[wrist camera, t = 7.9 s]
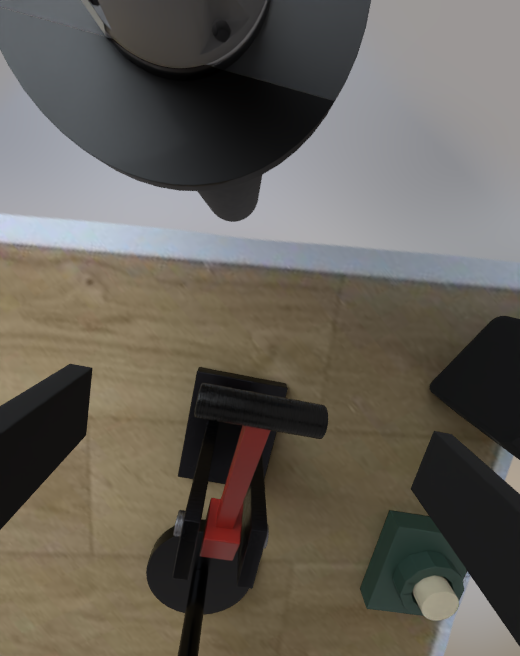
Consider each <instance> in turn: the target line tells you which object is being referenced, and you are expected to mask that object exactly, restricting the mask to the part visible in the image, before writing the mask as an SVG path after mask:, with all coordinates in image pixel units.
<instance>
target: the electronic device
mask: <svg viewBox="0 0 520 656" xmlns="http://www.w3.org/2000/svg"><path fill="white" fill-rule="evenodd" d="M430 391H431V392H432V393H433V394H434V395H436V396H437V397H438V398H439V399H440V400H442V401H443V402H444V403H445V404H446V405H448V406H449V407H450V408H451V409H452V410H454V411H455V412H456V413H457V414H459V415H460V416H461V417H463V418H464V419H465V420H467V421H468V422H469V423H471V424H472V425H473V426H475V427H476V428H477V429H479V430H480V431H481V432H483V433H484V434H485V435H487V436H488V437H490V438H491V439H492V440H494V441H495V442H496V443H498V444H499V445H500V446H502V447H503V448H504V449H506V450H507V451H508V452H510V453H511V454H512V455H514V456H515V457H516V458H518V459H519V460H520V319H516V318H512V317H508V316H500V317H497V318H495V319H494V320H492V321H491V322H490V323H489V324H488V325H487V326H486V327H485V328H484V329H483V330H482V331H481V332H480V333H479V334H478V335H477V336H476V337H475V338H474V339H473V340H472V341H471V342H470V343H469V344H468V345H467V346H466V347H465V348H464V349H463V351H462V352H461V353H460V354H459V355H458V356H457V357H456V358H455V359H454V360H453V361H452V362H451V363H450V364H449V365H448V366H447V367H446V368H445V369H444V370H443V371H442V372H441V373H440V374H439V375H438V376H437V377H436V378H435V379H434V380H433V381H432V383H431V384H430Z"/></svg>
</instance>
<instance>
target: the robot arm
mask: <svg viewBox="0 0 520 656" xmlns="http://www.w3.org/2000/svg"><path fill="white" fill-rule="evenodd" d="M81 1H82V2H83V4H84V5H85V7H86V8H87V10H88V11H89V13H90V14H91V15H92V17H93V18H94V20H95V21H96V23H97V24H98V26H99V27H100V28H101V30H102V31H103V33H104V34H105V36H106V37H107V38H108V39H109V40H110V42H111V43H112V44H113V45H114V46H115V47H116V48H117V49H118V51H119V52H120V53H121V54H123V55H124V56H125V57H126V58H127V59H128V60H130V61H131V62H132V63H134V64H135V65H137V66H138V67H140V68H142V69H143V70H145V71H147V72H149V73H152V74H154V75H157V76H160V77H163V78H167V79H172V80H181V81H186V80H198V79H202V78H206V77H209V76H212V75H215V74H217V73H219V72H221V71H223V70H224V69H226V68H227V67H229V66H231V65H232V64H233V63H234V62H235V61H237V60H238V59H239V58H240V57H241V56H242V55H243V54H244V53H245V52H246V50H247V49H248V48H249V47H250V45H251V44H252V42H253V41H254V39H255V38H256V36H257V34H258V32H259V30H260V29H261V26H262V24H263V22H264V19H265V16H266V13H267V10H268V7H269V2H270V0H81ZM91 377H92V368H90V367H85V366H79V365H74V364H69V365H67V366H66V367H64V368H62V369H61V370H59V371H58V372H56V373H54V374H53V375H51V376H49V377H48V378H46V379H44V380H43V381H41V382H39V383H38V384H36V385H34V386H33V387H31V388H29V389H28V390H26V391H25V392H23V393H21V394H20V395H18V396H16V397H15V398H13V399H11V400H10V401H8V402H6V403H5V404H3V405H1V406H0V530H1V528H2V527H3V526H4V525H5V524H6V523H7V522H8V521H9V520H10V519H11V517H12V516H13V515H14V514H15V513H16V512H17V511H18V510H19V509H20V507H21V506H22V505H23V504H24V503H25V502H26V501H27V500H28V499H29V498H30V496H31V495H32V494H33V493H34V492H35V491H36V490H37V489H38V488H39V487H40V485H41V484H42V483H43V482H44V481H45V480H46V479H47V478H48V477H49V475H50V474H51V473H52V472H53V471H54V470H55V469H56V468H57V467H58V466H59V464H60V463H61V462H62V461H63V460H64V459H65V458H66V457H67V456H68V455H69V453H70V452H71V451H72V450H73V449H74V448H75V447H76V446H77V445H78V444H79V442H80V441H81V440H82V439H83V438H84V437H85V436H86V430H87V420H88V409H89V398H90V388H91ZM411 490H412V492H413V493H414V494H415V496H416V497H417V499H418V500H419V502H420V503H421V505H422V506H423V507H424V509H425V510H426V512H427V513H428V515H429V516H430V518H431V519H432V520H433V522H434V523H435V525H436V526H437V528H438V529H439V531H440V532H441V533H442V535H443V536H444V538H445V539H446V541H447V542H448V544H449V545H450V546H451V548H452V549H453V551H454V552H455V554H456V555H457V557H458V558H459V559H460V561H461V562H462V564H463V565H464V567H465V568H466V570H467V571H468V572H469V574H470V575H471V577H472V578H473V580H474V581H475V582H476V584H477V585H478V587H479V588H480V590H481V591H482V593H483V594H484V595H485V597H486V598H487V600H488V601H489V603H490V604H491V606H492V607H493V608H494V610H495V611H496V613H497V614H498V616H499V617H500V619H501V620H502V622H503V623H504V624H505V626H506V627H507V629H508V630H509V631H510V633H511V635H512V636H513V637H514V639H515V640H516V642H517V643H518V645H519V646H520V494H519V493H518V492H516V491H515V490H514V489H513V488H512V487H511V486H510V485H509V484H507V483H506V482H505V481H504V480H503V479H502V478H501V477H500V476H498V475H497V474H496V473H495V472H494V471H493V470H492V469H490V468H489V467H488V466H487V465H486V464H485V463H484V462H483V461H481V460H480V459H479V458H478V457H477V456H476V455H475V454H473V453H472V452H471V451H470V450H469V449H468V448H467V447H466V446H464V445H463V444H462V443H461V442H460V441H459V440H458V439H456V438H455V437H454V436H453V435H452V434H447V433H442V432H436V431H434V432H433V435H432V437H431V440H430V442H429V445H428V447H427V449H426V452H425V454H424V457H423V459H422V462H421V464H420V467H419V469H418V472H417V474H416V477H415V479H414V482H413V484H412V487H411Z"/></svg>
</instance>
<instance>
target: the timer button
mask: <svg viewBox="0 0 520 656" xmlns="http://www.w3.org/2000/svg"><path fill="white" fill-rule="evenodd" d="M413 595H414V597H415V599H416V602H417V604H418V606H419V608H420V610H421V612H422V614H423V615H424V616H425V617H426V618H427V619H430V620H434V621H439V620H444V619H447V618H449V617H450V616H452V615H453V614H454V613H455V612H456V611H457V609H458V607H459V600H458V598H457V596H456V595H455V593H454V591H453V590H452V588H451V586H450V585H449V583H448V582H447V580H446V579H445V578H444V577H442V576H436V575H434V576H430V577H426V578H423V579H422V580H421V581H420V582H418V583H417V584H416V585H415V586H414V588H413Z"/></svg>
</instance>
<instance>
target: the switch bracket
mask: <svg viewBox="0 0 520 656" xmlns="http://www.w3.org/2000/svg"><path fill="white" fill-rule="evenodd" d="M202 383H207V384H213V385H218V386H224V387H229V388H234V389H240V390H245V391H250V392H256V393H261V394H266V395H272V396H277V397H283V398H285V397H286V393H287V390H288V388H287V385H286V384H285V383H280V382H275V381H270V380H264V379H259V378H254V377H249V376H243V375H238V374H233V373H228V372H222V371H217V370H212V369H207V368H201V367H199V368H198V371H197V374H196V380H195V385H194V391H193V396H192V402H191V407H190V413H189V418H188V423H187V429H186V434H185V440H184V445H183V451H182V456H181V462H180V467H179V472H178V477H184V478H190V479H193V483H192V487H191V492H190V496H189V500H188V504H187V508H186V511H183V510H179V512H178V515H177V519H176V524H175V528H174V533H173V535H174V536H180V540H179V545H178V550H177V555H176V561H175V566H174V571H173V576H172V578H174V579H181V580H188V579H189V575H190V570H191V566H192V561H193V556H194V551H195V547H196V542H197V537H198V533H199V528H200V523H201V518H202V512H203V507H204V501H205V496H206V490H207V484H208V481H209V482H216V483H222V484H226V480H227V477H228V474H229V470H230V467H231V463H232V460H233V456H234V453H235V450H236V446H237V443H238V439H239V436H240V433H241V429H242V425H237V424H231V423H225V422H220V421H214V420H208V419H203V418H197V417H195V407H196V402H197V398H198V394H199V390H200V387H201V384H202ZM276 432H277V431H270V433H269V436H268V439H267V441H266V444H265V446H264V449H263V452H262V454H261V457H260V459H259V462H258V465H257V467H256V470H255V472H254V475H253V478H252V480H251V483H250V485H249V488H248V491H247V493H246V496H245V498H244V501H243V516H242V528H241V540H240V545H239V547H238V567H237V587H243V588H251V589H252V588H253V584H254V581H255V577H256V574H257V570H258V566H259V563H260V559H261V555H262V552H263V548H266V546H267V542H268V533H269V528H268V523H267V513H266V499H265V485H264V478H265V475H266V471H267V467H268V463H269V459H270V455H271V451H272V448H273V444H274V440H275V436H276Z"/></svg>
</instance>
